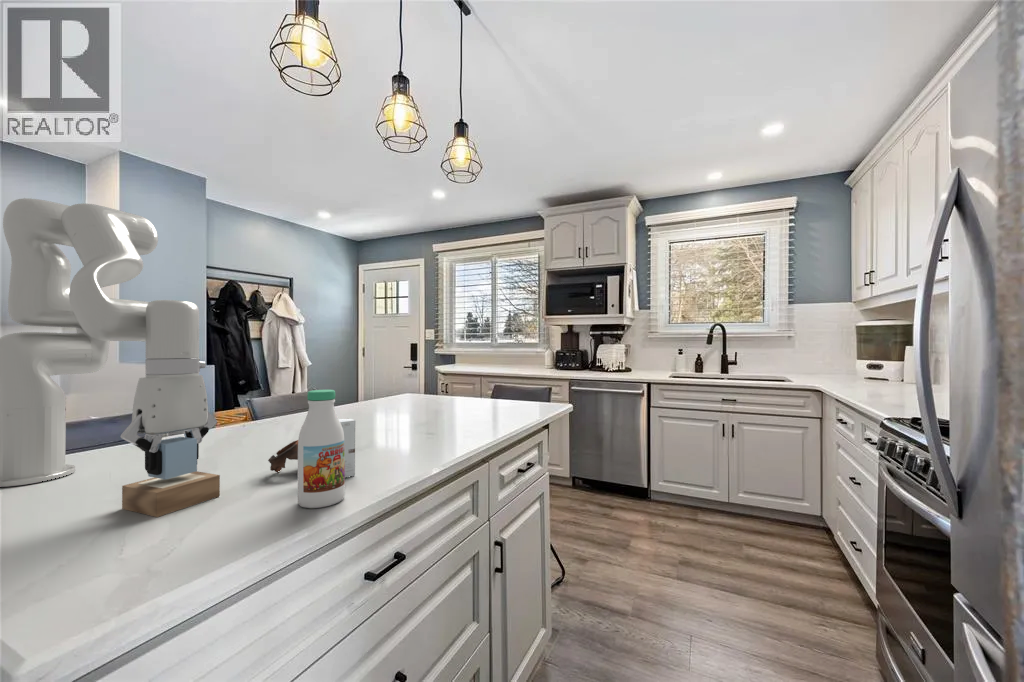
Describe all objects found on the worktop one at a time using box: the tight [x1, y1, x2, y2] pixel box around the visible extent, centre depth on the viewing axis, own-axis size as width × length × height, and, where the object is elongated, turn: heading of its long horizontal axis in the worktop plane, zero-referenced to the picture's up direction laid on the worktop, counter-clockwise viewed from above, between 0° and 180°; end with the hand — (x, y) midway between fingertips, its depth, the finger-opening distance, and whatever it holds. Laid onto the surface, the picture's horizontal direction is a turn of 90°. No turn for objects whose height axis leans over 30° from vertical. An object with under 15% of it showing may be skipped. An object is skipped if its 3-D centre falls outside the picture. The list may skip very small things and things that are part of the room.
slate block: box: [147, 436, 198, 479], centre depth 74 cm, size 5×5×6 cm
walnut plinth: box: [121, 470, 221, 518], centre depth 74 cm, size 10×10×4 cm
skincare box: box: [338, 417, 356, 478], centre depth 88 cm, size 6×4×12 cm
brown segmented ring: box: [267, 439, 298, 473], centre depth 92 cm, size 12×10×8 cm
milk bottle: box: [297, 389, 346, 509], centre depth 74 cm, size 8×8×20 cm
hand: (172, 468), depth 74 cm, fingers closed on slate block, 5 cm apart
